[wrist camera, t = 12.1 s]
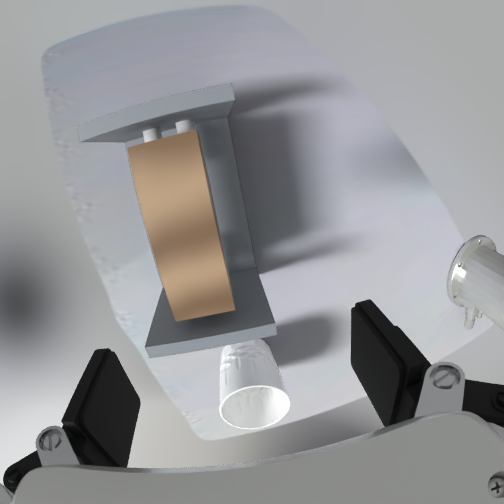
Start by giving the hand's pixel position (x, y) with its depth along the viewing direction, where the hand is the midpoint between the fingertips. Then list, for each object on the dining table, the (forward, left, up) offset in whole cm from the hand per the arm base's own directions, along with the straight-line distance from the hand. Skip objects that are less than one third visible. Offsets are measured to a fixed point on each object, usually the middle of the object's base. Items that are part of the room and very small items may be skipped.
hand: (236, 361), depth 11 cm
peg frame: (+2, +3, -23) cm, 23 cm away
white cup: (-19, +1, -23) cm, 30 cm away
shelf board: (+2, +3, -17) cm, 17 cm away
